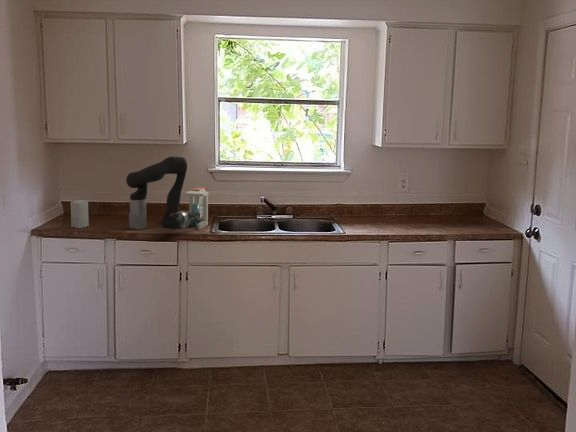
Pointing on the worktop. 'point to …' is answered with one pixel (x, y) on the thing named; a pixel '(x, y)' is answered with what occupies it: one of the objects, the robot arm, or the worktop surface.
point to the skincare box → (79, 214)
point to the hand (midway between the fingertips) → (191, 213)
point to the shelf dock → (203, 221)
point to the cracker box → (199, 200)
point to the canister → (194, 209)
